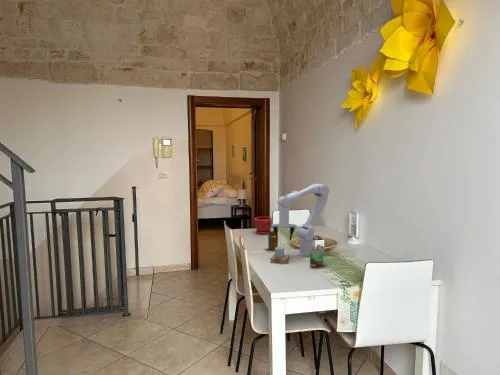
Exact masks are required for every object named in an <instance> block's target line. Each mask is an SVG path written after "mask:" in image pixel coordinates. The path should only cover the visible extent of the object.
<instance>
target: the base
mask: <svg viewBox="0 0 500 375" xmlns="http://www.w3.org/2000/svg"><path fill="white" fill-rule="evenodd" d="M289 261H290V255H289V254H284V257H283V258H275V253H274V254H273V255H272V256H271V257H270V264H280V265H287V264H288V262H289Z"/></svg>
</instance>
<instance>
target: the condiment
mask: <svg viewBox="0 0 500 375" xmlns="http://www.w3.org/2000/svg"><path fill="white" fill-rule="evenodd" d="M267 239H268V240H267V241H268V242H267V243H268V244H267V245H268V248H263V251H266V252H269V253H271V252H275V248H276V247H279V242H278V241H279V239H278V240H276V235H275V232H274V230H271V231H269V234H268V238H267Z"/></svg>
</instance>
